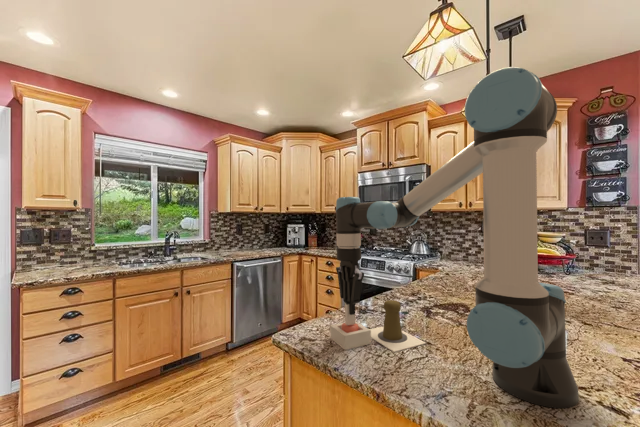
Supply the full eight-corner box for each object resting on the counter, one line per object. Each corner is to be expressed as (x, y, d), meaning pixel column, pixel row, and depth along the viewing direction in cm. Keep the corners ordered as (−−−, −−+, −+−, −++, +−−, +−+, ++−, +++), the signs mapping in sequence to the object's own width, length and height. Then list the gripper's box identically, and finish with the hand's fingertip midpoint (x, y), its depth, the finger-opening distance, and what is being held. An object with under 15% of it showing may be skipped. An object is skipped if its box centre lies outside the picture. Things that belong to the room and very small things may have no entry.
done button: (361, 336, 86) (361, 326, 86) (347, 339, 84) (347, 329, 84) (352, 330, 90) (352, 321, 90) (339, 333, 88) (338, 323, 88)
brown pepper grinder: (403, 341, 85) (402, 304, 85) (382, 339, 86) (382, 303, 87) (401, 333, 91) (401, 298, 91) (382, 331, 92) (382, 297, 93)
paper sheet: (426, 343, 84) (426, 342, 84) (394, 352, 79) (394, 351, 79) (391, 325, 99) (391, 324, 99) (362, 331, 94) (362, 330, 94)
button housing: (370, 343, 85) (370, 330, 85) (344, 350, 81) (344, 335, 81) (354, 332, 93) (354, 320, 93) (330, 338, 89) (330, 325, 89)
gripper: (371, 248, 83) (372, 329, 83) (348, 244, 95) (349, 315, 94) (349, 249, 80) (350, 334, 79) (328, 246, 92) (329, 319, 91)
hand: (350, 323), depth 87 cm, fingers closed
